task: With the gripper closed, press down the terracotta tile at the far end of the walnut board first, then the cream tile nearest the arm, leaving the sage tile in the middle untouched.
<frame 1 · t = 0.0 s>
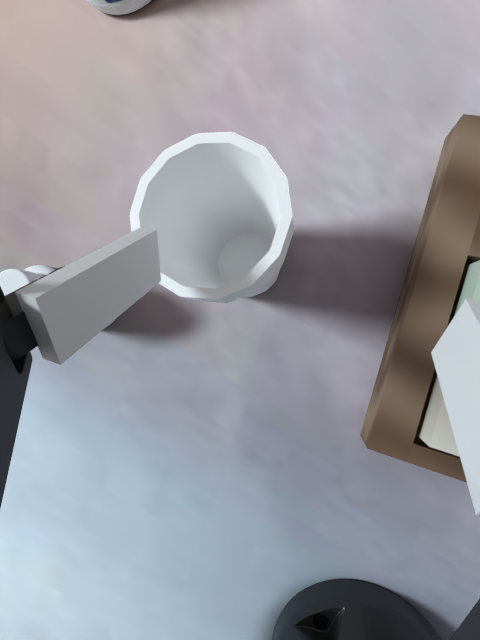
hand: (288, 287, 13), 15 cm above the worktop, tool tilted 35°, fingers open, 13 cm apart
foam cup: (249, 265, 29), on the worktop
walnut board: (477, 306, 25), on the worktop
cream tile: (469, 420, 22), point 3 cm above the worktop, slide at 0.0 cm
supplement bottle: (101, 305, 33), on the worktop
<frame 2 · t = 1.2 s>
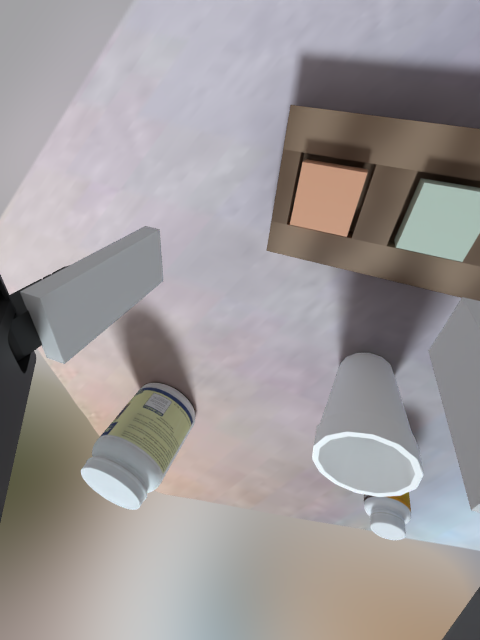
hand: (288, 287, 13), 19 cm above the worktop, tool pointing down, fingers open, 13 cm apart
supplement tub: (170, 402, 57), on the worktop
foam cup: (365, 371, 38), on the worktop
walnut board: (434, 209, 26), on the worktop
terracotta tile: (326, 198, 25), point 3 cm above the worktop, slide at 0.0 cm
supplement bottle: (384, 456, 45), on the worktop
sage tile: (441, 220, 23), point 3 cm above the worktop, slide at 0.0 cm
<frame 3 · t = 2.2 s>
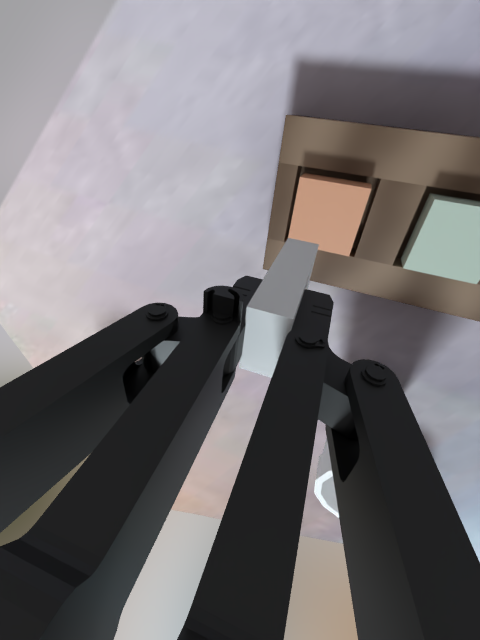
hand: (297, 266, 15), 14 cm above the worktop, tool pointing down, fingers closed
foam cup: (369, 391, 36), on the worktop
walnut board: (444, 225, 24), on the worktop
terracotta tile: (326, 214, 23), point 3 cm above the worktop, slide at 0.0 cm
sage tile: (453, 239, 21), point 3 cm above the worktop, slide at 0.0 cm
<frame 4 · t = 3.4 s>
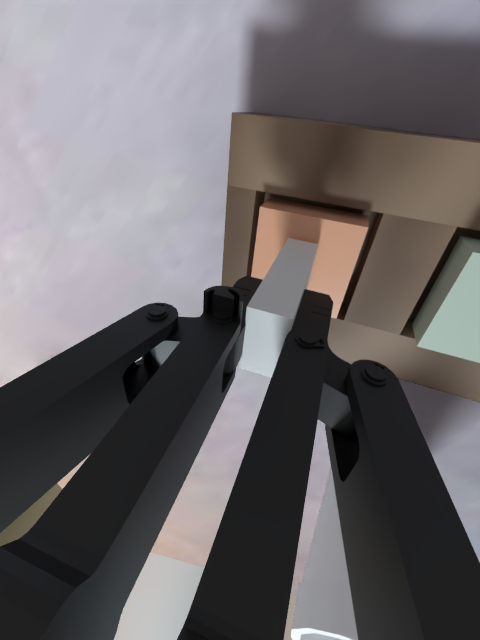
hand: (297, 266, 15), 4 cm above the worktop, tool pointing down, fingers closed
foam cup: (367, 465, 28), on the worktop
walnut board: (475, 275, 16), on the worktop
terracotta tile: (303, 258, 16), point 3 cm above the worktop, slide at 0.6 cm, touching gripper
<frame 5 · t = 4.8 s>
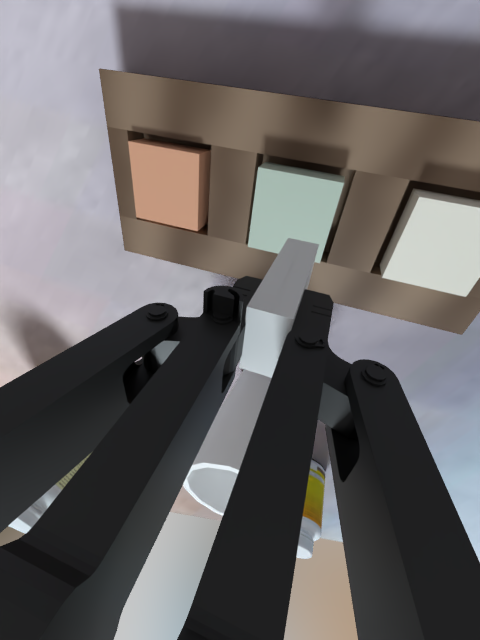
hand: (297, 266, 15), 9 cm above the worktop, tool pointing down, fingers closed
supplement tub: (89, 412, 53), on the worktop
foam cup: (268, 379, 34), on the worktop
walnut board: (300, 200, 22), on the worktop
terracotta tile: (171, 185, 21), point 3 cm above the worktop, slide at 0.6 cm
cream tile: (440, 243, 18), point 3 cm above the worktop, slide at 0.0 cm
supplement bottle: (305, 465, 42), on the worktop
sage tile: (293, 213, 19), point 3 cm above the worktop, slide at 0.0 cm
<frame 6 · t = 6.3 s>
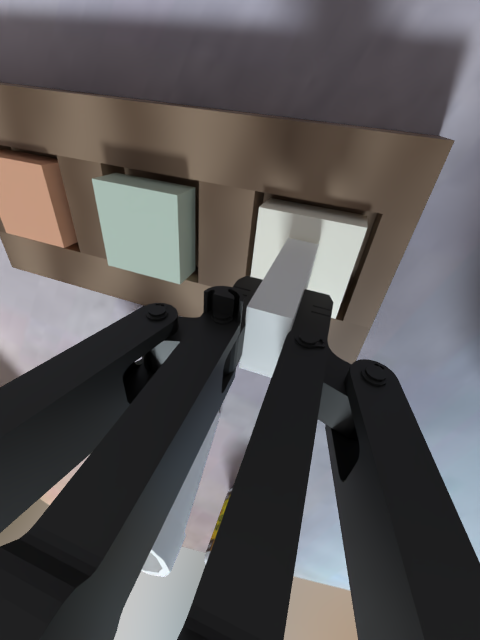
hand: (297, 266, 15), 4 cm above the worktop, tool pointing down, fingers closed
foam cup: (193, 404, 32), on the worktop
walnut board: (177, 213, 20), on the worktop
terracotta tile: (35, 199, 20), point 3 cm above the worktop, slide at 0.6 cm
cream tile: (302, 259, 16), point 3 cm above the worktop, slide at 0.6 cm, touching gripper
sage tile: (148, 229, 17), point 3 cm above the worktop, slide at 0.0 cm
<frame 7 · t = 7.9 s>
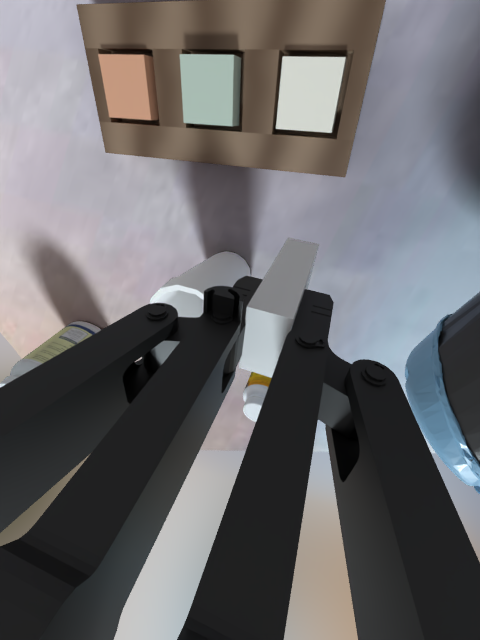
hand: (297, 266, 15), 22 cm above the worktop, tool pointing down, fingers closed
supplement tub: (96, 342, 62), on the worktop
foam cup: (230, 272, 42), on the worktop
walnut board: (224, 93, 30), on the worktop
terracotta tile: (131, 88, 30), point 3 cm above the worktop, slide at 0.6 cm
cream tile: (309, 96, 26), point 3 cm above the worktop, slide at 0.7 cm
supplement bottle: (273, 363, 49), on the worktop
sage tile: (211, 91, 28), point 3 cm above the worktop, slide at 0.0 cm
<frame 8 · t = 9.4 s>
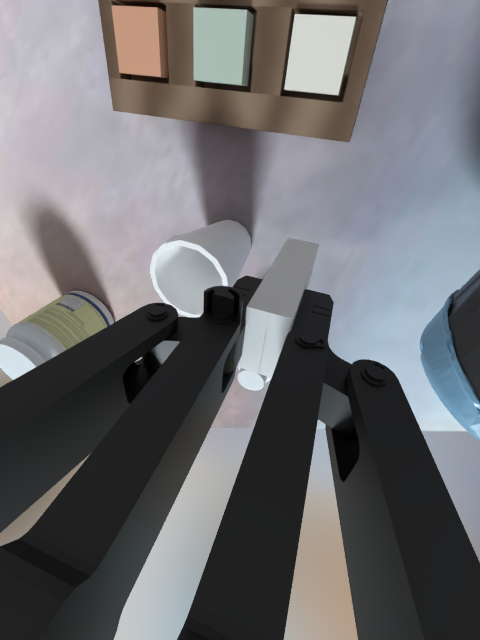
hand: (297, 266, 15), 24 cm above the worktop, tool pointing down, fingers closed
supplement tub: (92, 313, 62), on the worktop
foam cup: (230, 241, 42), on the worktop
walnut board: (234, 54, 31), on the worktop
terracotta tile: (142, 44, 30), point 3 cm above the worktop, slide at 0.6 cm
cream tile: (318, 57, 27), point 3 cm above the worktop, slide at 0.7 cm
supplement bottle: (269, 337, 50), on the worktop
sage tile: (222, 49, 28), point 3 cm above the worktop, slide at 0.0 cm
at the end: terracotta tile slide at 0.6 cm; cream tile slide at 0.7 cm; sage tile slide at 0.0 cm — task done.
